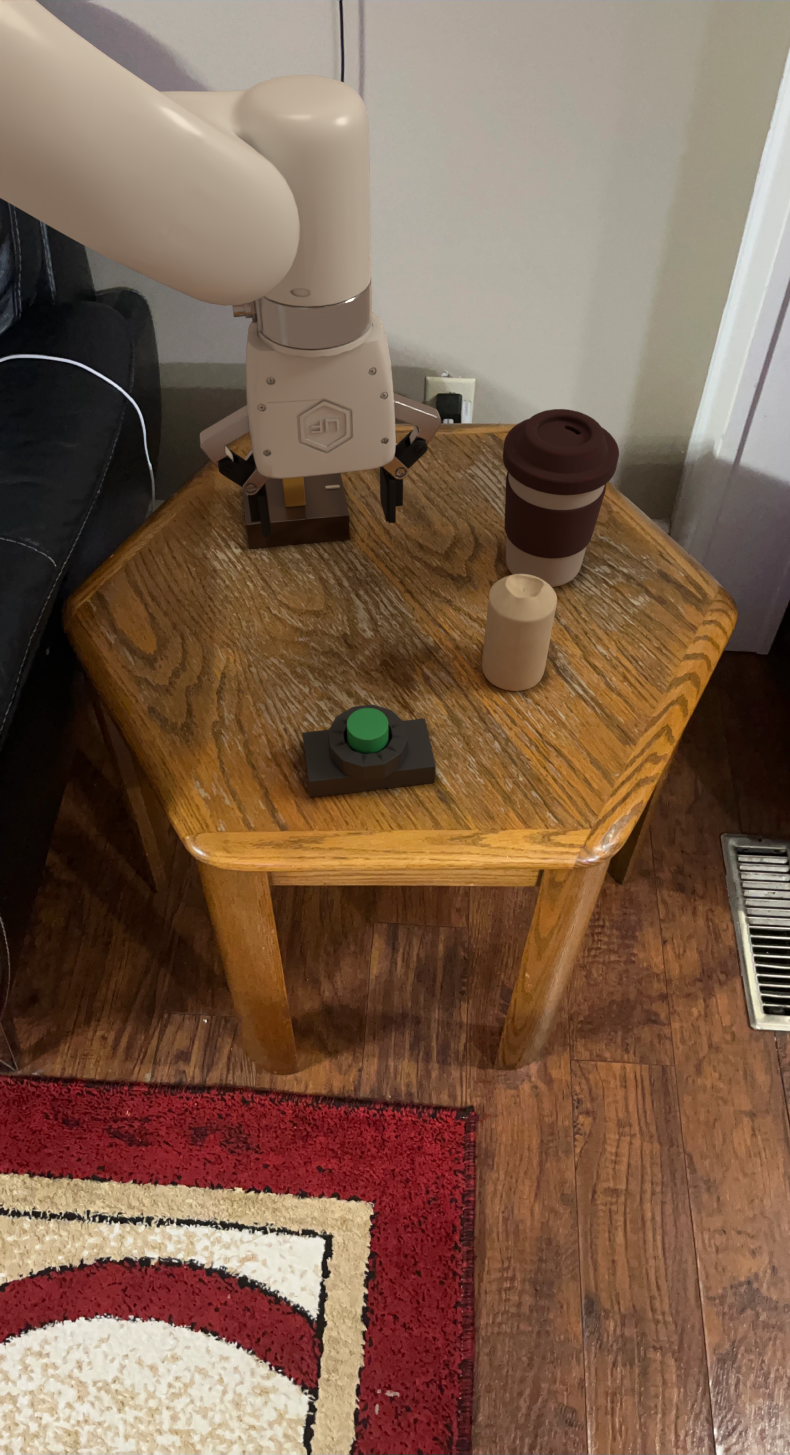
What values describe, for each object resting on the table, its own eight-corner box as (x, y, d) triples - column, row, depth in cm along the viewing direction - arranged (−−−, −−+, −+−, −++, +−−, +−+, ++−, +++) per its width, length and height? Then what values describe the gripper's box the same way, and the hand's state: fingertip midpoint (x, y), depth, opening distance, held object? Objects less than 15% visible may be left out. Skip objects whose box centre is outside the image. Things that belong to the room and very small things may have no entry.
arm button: (350, 756, 75) (349, 742, 74) (345, 724, 77) (344, 710, 76) (391, 751, 75) (391, 737, 74) (385, 719, 77) (385, 705, 76)
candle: (544, 648, 88) (559, 563, 80) (544, 694, 84) (559, 609, 76) (482, 644, 88) (491, 558, 80) (480, 689, 84) (489, 604, 77)
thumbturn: (305, 505, 95) (302, 460, 91) (285, 507, 95) (280, 462, 91) (301, 474, 99) (297, 429, 95) (281, 476, 98) (276, 431, 94)
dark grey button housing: (310, 803, 77) (307, 773, 74) (303, 743, 80) (300, 712, 77) (436, 788, 78) (438, 757, 75) (423, 729, 81) (424, 698, 78)
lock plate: (249, 548, 96) (245, 523, 94) (243, 492, 102) (240, 467, 99) (350, 539, 97) (349, 513, 94) (339, 484, 103) (338, 458, 100)
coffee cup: (509, 607, 91) (527, 472, 79) (478, 539, 97) (491, 405, 85) (609, 590, 92) (641, 455, 81) (573, 525, 98) (597, 391, 87)
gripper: (180, 348, 60) (218, 563, 73) (457, 324, 62) (445, 537, 75) (176, 289, 64) (212, 501, 77) (433, 268, 66) (426, 478, 79)
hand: (327, 518), depth 76 cm, fingers open, 9 cm apart
